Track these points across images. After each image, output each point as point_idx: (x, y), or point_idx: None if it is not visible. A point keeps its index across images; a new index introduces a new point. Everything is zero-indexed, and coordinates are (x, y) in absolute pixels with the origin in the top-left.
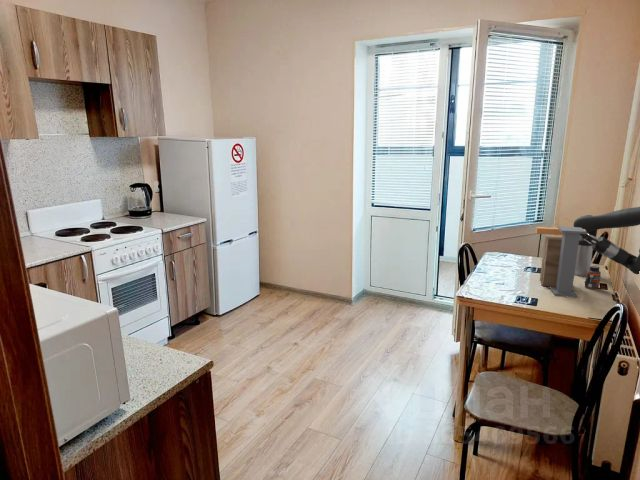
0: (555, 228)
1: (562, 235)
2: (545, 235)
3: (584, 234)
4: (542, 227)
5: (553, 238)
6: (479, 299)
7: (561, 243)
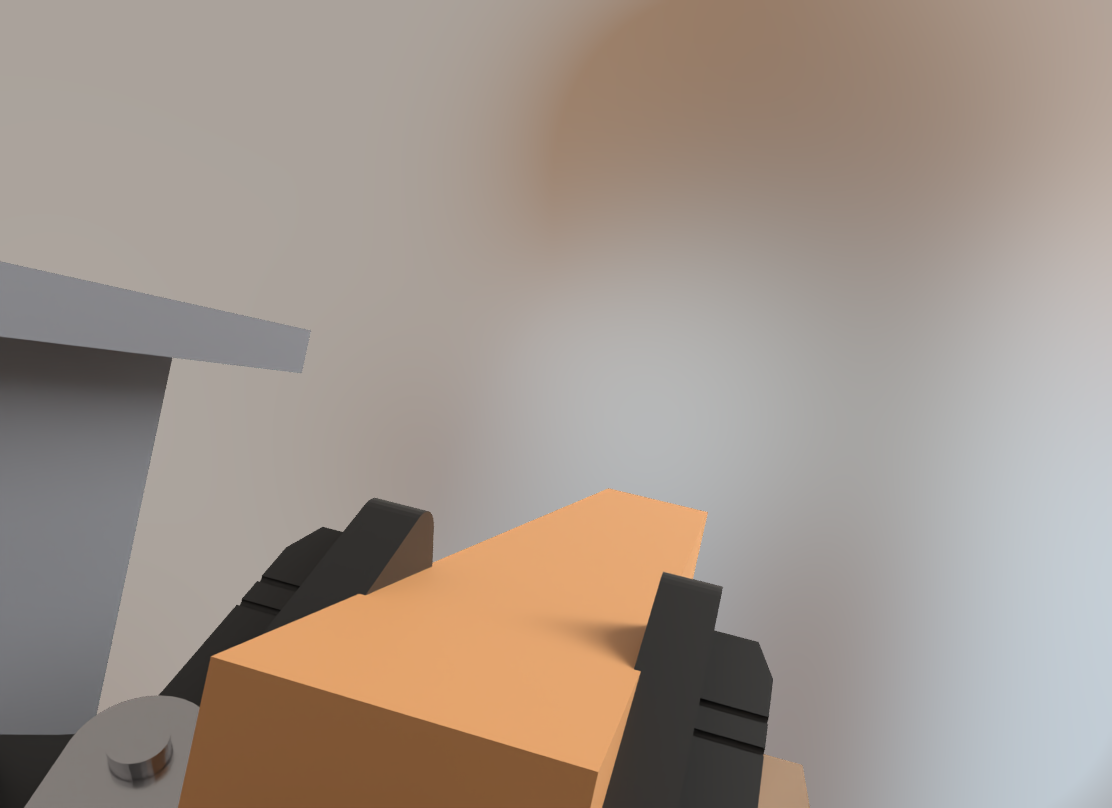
0: (616, 526)
1: (133, 482)
2: (773, 758)
3: (12, 745)
4: (687, 516)
5: None
6: None
7: (93, 664)
